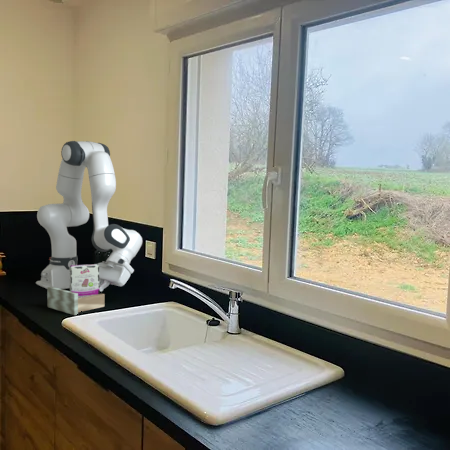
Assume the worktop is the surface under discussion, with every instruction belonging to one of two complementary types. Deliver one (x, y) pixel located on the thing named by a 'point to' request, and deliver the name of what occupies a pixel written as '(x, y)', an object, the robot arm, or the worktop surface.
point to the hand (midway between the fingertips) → (98, 290)
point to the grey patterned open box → (72, 301)
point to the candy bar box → (84, 280)
